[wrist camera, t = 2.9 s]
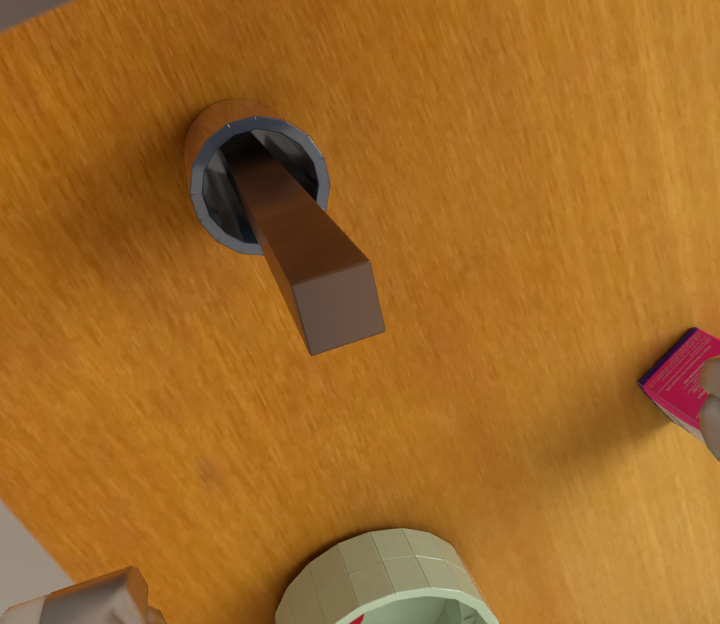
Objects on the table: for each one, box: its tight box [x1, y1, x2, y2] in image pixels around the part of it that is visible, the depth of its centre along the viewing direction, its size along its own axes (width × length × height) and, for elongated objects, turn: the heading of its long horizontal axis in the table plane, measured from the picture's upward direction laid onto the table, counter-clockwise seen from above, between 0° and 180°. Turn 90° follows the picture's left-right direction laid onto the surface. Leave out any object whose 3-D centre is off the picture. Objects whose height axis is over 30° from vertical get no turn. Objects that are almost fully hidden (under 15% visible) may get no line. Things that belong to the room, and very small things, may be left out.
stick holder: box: [184, 99, 330, 256], centre depth 29 cm, size 5×5×8 cm
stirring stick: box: [219, 134, 385, 356], centre depth 23 cm, size 2×2×20 cm
